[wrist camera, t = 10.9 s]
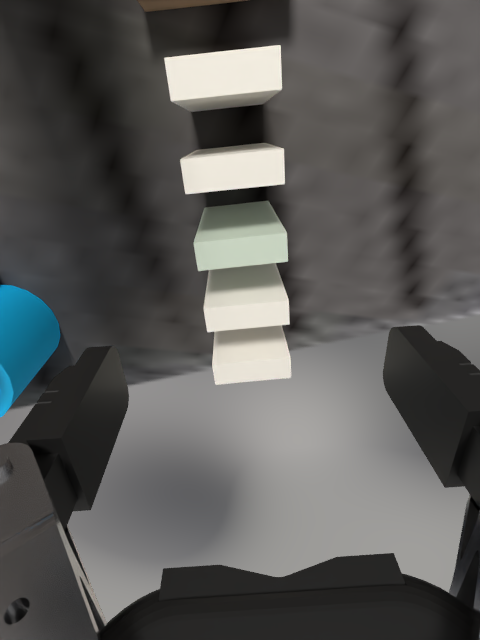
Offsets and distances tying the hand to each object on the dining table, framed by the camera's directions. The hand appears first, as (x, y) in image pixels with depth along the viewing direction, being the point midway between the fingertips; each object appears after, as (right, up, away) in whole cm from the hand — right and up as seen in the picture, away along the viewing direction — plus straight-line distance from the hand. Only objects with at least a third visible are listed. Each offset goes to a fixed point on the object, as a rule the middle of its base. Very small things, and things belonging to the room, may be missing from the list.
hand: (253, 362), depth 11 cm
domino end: (-1, +17, +14) cm, 22 cm away
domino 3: (0, +6, +19) cm, 20 cm away
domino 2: (-1, +10, +18) cm, 20 cm away
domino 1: (-1, +13, +16) cm, 21 cm away
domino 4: (0, +3, +21) cm, 21 cm away
